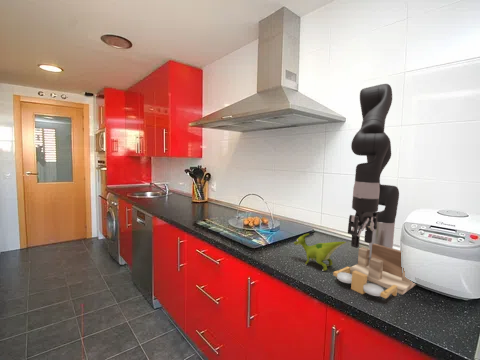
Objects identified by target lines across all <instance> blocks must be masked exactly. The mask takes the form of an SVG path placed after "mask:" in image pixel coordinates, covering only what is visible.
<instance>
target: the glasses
mask: <svg viewBox="0 0 480 360" xmlns="http://www.w3.org/2000/svg"><path fill="white" fill-rule="evenodd" d="M350 267H351V266H345V267H343V268H340V269H338V270H335V271H333V273H332V275H333V277H336V278H337V279H338V281H340V282H342V283H344V284H351V285H350V286H351V287H350V289H351V290H352V291H354V292H357V293H358V294H360V295H364V294H368V295H370V296H373V297H381V298H384V299H387V298H389V297H390V295H391V296H394V297H397V296H398V295H397V294H398V293H397V286H396V285H393V286H391V287H390V288H388V289H387V288H386V289H385V290H384V287H382V286H380V285H377V284H375V283H372V282H370V283H369V282H368V280H367V275H366V274H363V273H361V272H358V271H356V270H355V271H353V272H352V274H351V273H350Z"/></svg>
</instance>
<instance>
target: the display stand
mask: <svg viewBox="0 0 480 360" xmlns="http://www.w3.org/2000/svg"><path fill="white" fill-rule="evenodd" d="M401 251H402V250H398V249H395V248H393V249H392V248H389V247H385V246H382V245H378V244H372V253H371V258H370V257H369V256H370V249H369V248H367V247H363V246H362V247H358V252H357V253H358V255H357V263H356V264H354V265H353V266H349V267H350V274H352V272H353V271H355V270H356V271H358V272H361V273H363V274H366V275H367V282H370V283H372V284H375V285H378V286H380V287H382V288H385V289H386V290H387V289H388V288H390V287H391V286H393V285H396V286H397V294H399V295H404V294H405V293H407V292H409V291H410V290H411V289H413V288H414V287H415V286H416V285H417V284H415V283H413V282H412V281H410V280H409V279H407V278H406V277H405V271H404V268H403V273H402V267H401Z"/></svg>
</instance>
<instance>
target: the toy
mask: <svg viewBox="0 0 480 360" xmlns="http://www.w3.org/2000/svg"><path fill="white" fill-rule="evenodd" d="M307 236H310V233H305V234H303V235H300V236H299V237H298V238H296V240H295V241H294V242H293V244H294V246H299V245H300V246H301V247H302V248H303V249H304V251H305V254H306V259H307V260H306V261H305V266H307V264H308V263H309V262H310V260H311V261H315V262H316V263H317V264H318V265H321V266H322V267H323V268H322V272H323V271H324V272H325V271H328V267H329V266H333V260H332V259H331V258H330V257H331V255H332V254H333V253H334V252H335V251H336V250H337V249H338V248H339V247H341V246H342V245H345V244H346V243H347V241H331V242H318V243H315V244H312V245H309V244H307V243H306V238H307ZM325 261H328V263H327V264H326V263H325Z"/></svg>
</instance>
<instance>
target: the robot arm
mask: <svg viewBox="0 0 480 360" xmlns="http://www.w3.org/2000/svg"><path fill="white" fill-rule="evenodd" d="M392 103H393V91H392V87H391V84H388V83H382V84H377V85H372V86H369V87H364V88H362V89H361V90H360V92H359V104H360V110H361V116H362V122H361V127H360V129H359V130H358V131H357V132H356V133H355V135H354V136H353V138H352V141H351V143H350V146H351V151H352V153H354V154H355V155H356V156H364V157H365V156H366V162H362V163H359V164H357V165H356V167H355V174H354V176H355V178H354V185H353V187H352V188H353V190H352V200H351V201H352V202H351V203H352V204H351V209H352V210H354V211H355V215H354V214H353V215H352V214H349V217H348V226H347V234H349V235H351V241H350V246H351V247H352V248H356V249H359V248H360V239H361V238H360V236H361V233H362V232H363V231H364V242H365V243H368V249H370V256H369V259H371V253H372V244H378V245H382V246H385V247H389V248H392V249H394V237H395V225H396V217H397V214H398V213H397V211H398V206H399V198H400V191H399V188H398V186H396V185H391V184H381V175H382V172H383V170H384V169H385V168H386V166H387V165H388V164H389V161H390V159H391V157H392V144H391V139H390V137H389V136H388V135H387V134H386V132H385V124H386V118H387V116H388V114H389V111H390V109H391V106H392ZM379 206H384V209H383V210H382V211H379Z"/></svg>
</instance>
